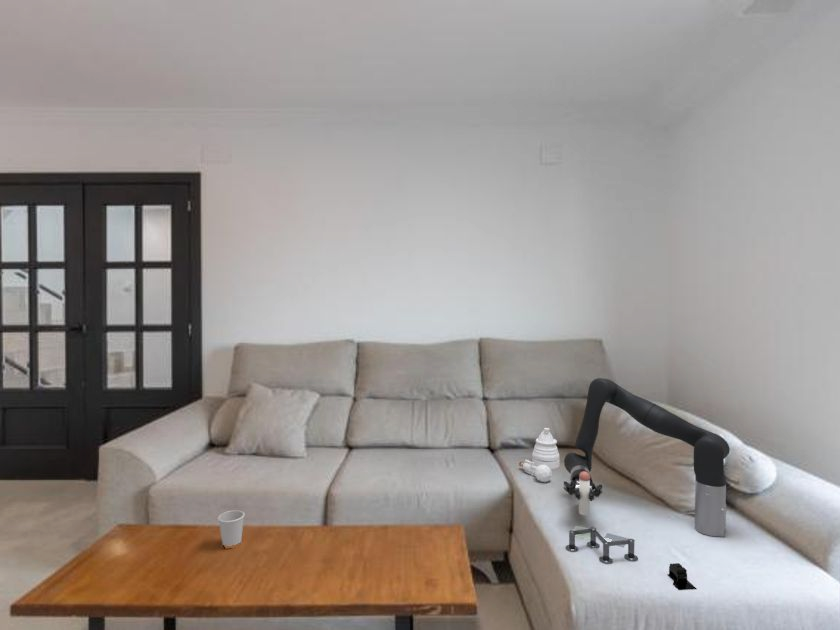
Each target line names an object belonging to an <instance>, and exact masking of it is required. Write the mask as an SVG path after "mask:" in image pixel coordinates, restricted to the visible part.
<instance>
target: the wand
mask: <svg viewBox="0 0 840 630" xmlns="http://www.w3.org/2000/svg"><path fill="white" fill-rule="evenodd" d="M579 491H580V500H578V514H580V515H581V516H589V515H590V499H589V492H590V475H589V473H588V472H585V471H583V472H581V473H580V474H579Z"/></svg>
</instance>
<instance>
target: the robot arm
mask: <svg viewBox="0 0 840 630" xmlns="http://www.w3.org/2000/svg"><path fill="white" fill-rule="evenodd" d="M606 403H608V404H610V405H613V406H615V407H617V408H619V409H620V410H622V411H624V412H626V414H627V415H629V416H630V417H631V418H632V419H634V420H635V421H636V422H638V424H641V425H642V426H644V427H645V428H647V429H649V430H651V431H653V432H655V433H656V434H660V435H662V436H666V437H669V438H673V439H676V440H679V441H682V442H684V443H686V444H688V445H690V446H692V448H693V473H694V477H695V483H694V484H695V486H694V491H695V492H694V529H695V530H696V531H697V532H698V533H700V534H703V535H706V536H710V537H720V538H721V537H722V538H724V537H725V534H726V529H727V528H726V527H727V524H726V522H727V504H726V503H727V502H726V501H727V476H726V475H725V473H724V471H725V470H724V469H725V468H724V467H725V466H724V465H725V459H726V458H727V456H728V455H729V454H730V450H731V449H730V445H729V443H728V442H727V440H726V439H725V438H724V437H722V436H720V435H718V434H716V433H714V432H712V431H710V430H707V429H704V428H702V427H700V426H697V425H694V424H692V423H691V422H689V421H687V420H686V419H683V418H682V417H680V416H678V415H676V414H674V413H673V412H671V411H669V410H668V409H666V408H664V407H662V406H660V405H658V404H656V403H653V402H652V401H650V400H647V399H646V398H643V397H641V396H638V395H636V394H634V393H631V391H628V390H627V389H625V388H624V387H622V386H621V385H619V384H618V383H615V382H614V381H613V380H611V379H608V378H602V377H597V378H594V379H593V380H592V381H591V382H590V383H589V386H588V391H587V398H586V405H585V409H584V412H583V418H582V422H581V423H580V424H581V425H580V426H579V427H580V428H579V430H578V432H577V436H576V439H575V443H574V446H575V447H576V448H577V449H579V450H580V451H582V452H583V453H584V455H581V454H578V453H576V452H569V453H567V454H566V455H565V456H564V461H563V463H564V468H565V470H566V471H567V472H568V473H569V474H570V475H569V476H570V477H569V479H570V482H568V481H563V490H565V492H566V493H568V494H569V496H570V495H571V496H572V495H574V497H575V499H577V500H578V501H579V500H580V491H579V474H580V473H581V472H583V471H585V472H588V473H589V475H590V492H589V502H593V501H594V500H595V497H596V498H599V497H600V496H601V494H602V493H603V484H597V485H596V484H595V483H594V482H593V479H592V475H591V474H592V473H591V471H592V466H593V465H592V461H593V452H594V451H593V450H594V447H595V443H596V441H597V437H598V433H599V428H600V425H599V424H600V418H601V412H602V411H603V408H604V406H605V404H606Z"/></svg>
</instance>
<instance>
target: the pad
mask: <svg viewBox="0 0 840 630" xmlns="http://www.w3.org/2000/svg"><path fill="white" fill-rule="evenodd" d="M583 529H589V528H588V527H584V526H581V525H576V526H575V527H574V528H573V529H572V530H573V531H576V530H583ZM596 531H597V532H598V533H599V534H600V531H599V530H596ZM575 538H581V539H583V540H587V541H590V533H584V534H577V535H575Z"/></svg>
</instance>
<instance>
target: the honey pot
mask: <svg viewBox="0 0 840 630" xmlns="http://www.w3.org/2000/svg"><path fill="white" fill-rule="evenodd" d="M557 443H558V439H556V438H554V437H553V435H552V433H551V432H550V428H549V427H544V428H543V431H541V433H540V434H539V436H538V437H537V438H536V439H535V445H534V446H533V447H534V448H533V451H532V454H531V456H532V457H531V462H534V466H536V467H538V466H539V465H546V466H548V467H549V468H550V469H551V470H554V469H557V468H560V459H561V457H560V453H559V450H558V446H557Z"/></svg>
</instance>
